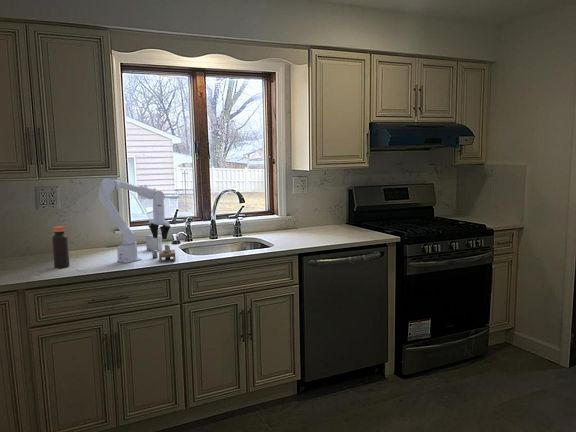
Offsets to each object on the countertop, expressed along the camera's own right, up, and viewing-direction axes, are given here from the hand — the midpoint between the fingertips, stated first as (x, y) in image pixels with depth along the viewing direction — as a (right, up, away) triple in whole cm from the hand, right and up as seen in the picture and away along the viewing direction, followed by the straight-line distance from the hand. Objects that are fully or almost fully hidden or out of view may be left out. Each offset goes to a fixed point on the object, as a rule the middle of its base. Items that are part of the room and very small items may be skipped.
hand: (159, 238), depth 250 cm
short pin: (-3, -10, +1) cm, 11 cm away
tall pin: (+5, -11, -5) cm, 13 cm away
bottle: (-43, -13, -18) cm, 49 cm away
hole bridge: (+5, -11, -5) cm, 13 cm away
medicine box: (-9, -8, +22) cm, 25 cm away
